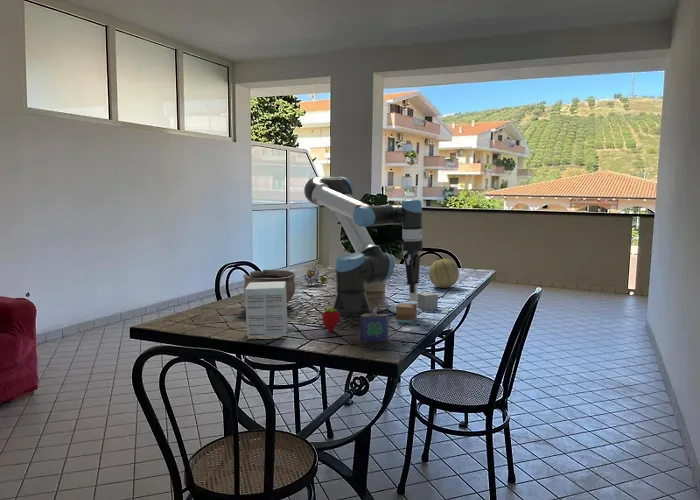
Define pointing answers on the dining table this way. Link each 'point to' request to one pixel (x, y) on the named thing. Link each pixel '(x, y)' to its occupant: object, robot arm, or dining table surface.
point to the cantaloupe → (443, 273)
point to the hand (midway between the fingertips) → (413, 300)
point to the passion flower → (314, 276)
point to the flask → (374, 328)
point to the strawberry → (331, 318)
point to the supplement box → (266, 309)
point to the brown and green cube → (406, 312)
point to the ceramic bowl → (273, 279)
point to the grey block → (427, 300)
